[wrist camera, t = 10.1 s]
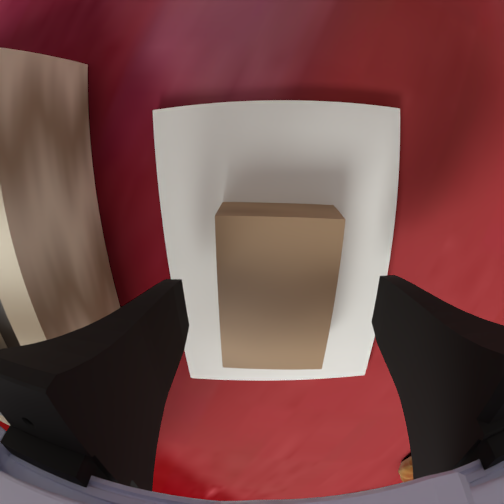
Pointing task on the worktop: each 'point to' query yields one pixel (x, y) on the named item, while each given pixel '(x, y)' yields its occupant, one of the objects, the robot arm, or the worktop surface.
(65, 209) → the pocket board
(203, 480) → the worktop surface
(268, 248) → the walnut bar
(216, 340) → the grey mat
